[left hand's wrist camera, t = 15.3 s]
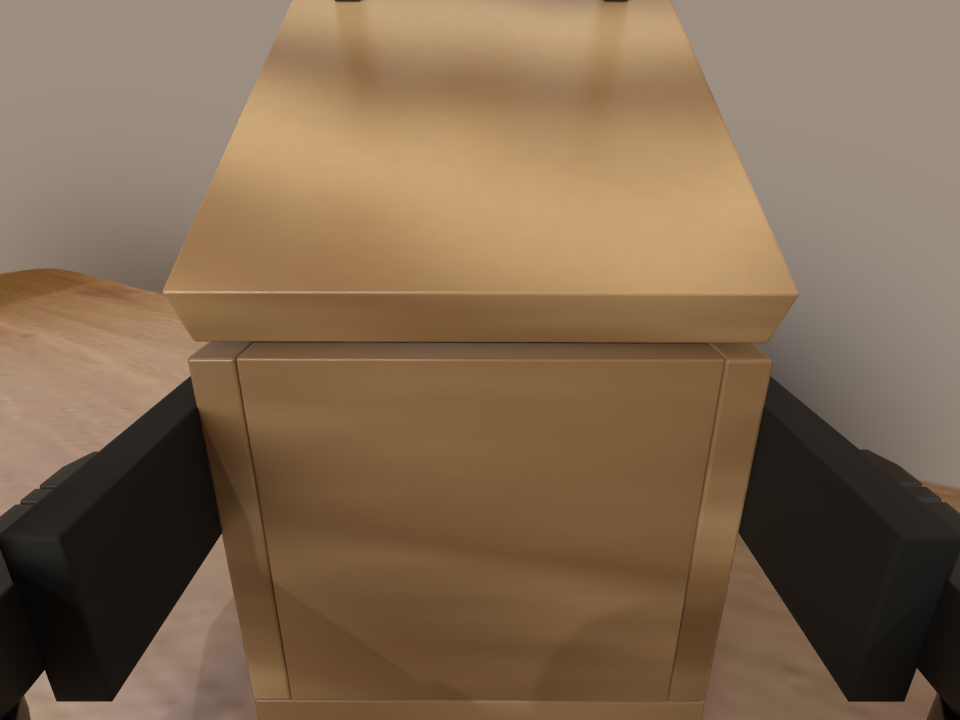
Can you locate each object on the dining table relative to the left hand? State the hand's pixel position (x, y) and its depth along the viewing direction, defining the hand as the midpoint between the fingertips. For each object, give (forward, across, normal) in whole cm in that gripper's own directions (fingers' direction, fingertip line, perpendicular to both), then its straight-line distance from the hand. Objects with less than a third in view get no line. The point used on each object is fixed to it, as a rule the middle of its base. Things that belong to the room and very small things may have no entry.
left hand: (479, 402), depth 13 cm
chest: (+4, 0, -7) cm, 8 cm away
